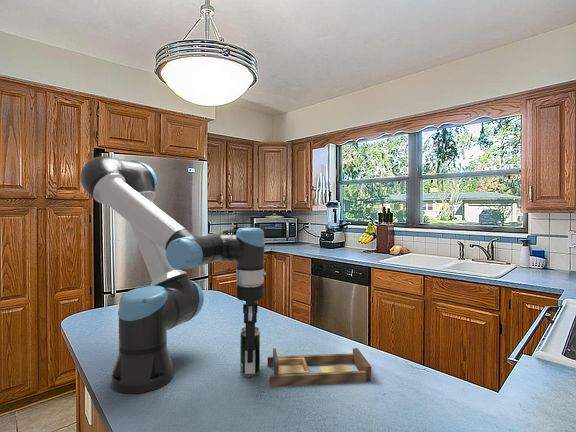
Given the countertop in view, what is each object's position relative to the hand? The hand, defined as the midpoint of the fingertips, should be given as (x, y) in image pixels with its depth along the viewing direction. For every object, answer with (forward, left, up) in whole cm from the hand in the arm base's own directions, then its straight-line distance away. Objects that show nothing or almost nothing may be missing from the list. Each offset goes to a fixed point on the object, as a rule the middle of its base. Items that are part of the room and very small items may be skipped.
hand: (250, 367), depth 94 cm
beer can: (0, 0, -1) cm, 1 cm away
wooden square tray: (+11, -2, -1) cm, 11 cm away
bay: (+18, -2, -1) cm, 18 cm away
